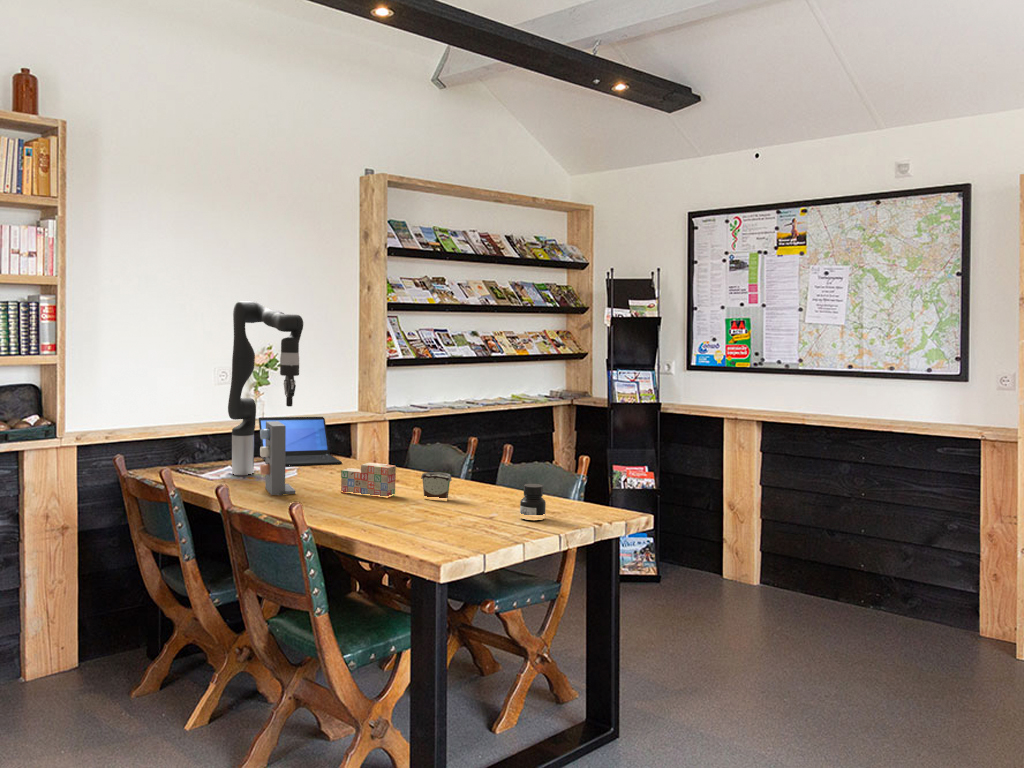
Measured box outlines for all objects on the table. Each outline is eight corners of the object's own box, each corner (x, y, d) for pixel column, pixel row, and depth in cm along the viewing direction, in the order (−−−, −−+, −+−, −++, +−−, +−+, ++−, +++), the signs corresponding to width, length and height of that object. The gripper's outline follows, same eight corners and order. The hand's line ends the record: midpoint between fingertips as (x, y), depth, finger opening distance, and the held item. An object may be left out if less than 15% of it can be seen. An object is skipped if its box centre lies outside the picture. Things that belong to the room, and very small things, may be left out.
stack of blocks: (340, 493, 350) (340, 462, 349) (349, 490, 355) (349, 460, 355) (387, 498, 341) (387, 467, 341) (395, 496, 347) (396, 464, 346)
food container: (456, 499, 343) (456, 473, 343) (450, 502, 337) (450, 476, 337) (427, 496, 347) (427, 471, 347) (420, 499, 342) (421, 473, 341)
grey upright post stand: (265, 488, 355) (265, 421, 353) (288, 487, 359) (288, 420, 357) (271, 495, 341) (272, 426, 339) (295, 494, 344) (296, 425, 343)
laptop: (270, 468, 404) (271, 426, 403) (257, 456, 438) (257, 417, 437) (342, 465, 418) (343, 424, 417) (324, 453, 452) (324, 415, 451)
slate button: (260, 438, 347) (260, 428, 347) (270, 438, 349) (270, 428, 349) (261, 439, 344) (261, 429, 343) (272, 439, 345) (272, 429, 345)
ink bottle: (514, 517, 313) (515, 484, 312) (534, 515, 318) (535, 482, 317) (530, 523, 305) (531, 488, 304) (550, 520, 310) (551, 486, 309)
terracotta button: (260, 473, 348) (260, 463, 348) (270, 473, 350) (270, 463, 349) (261, 475, 344) (261, 465, 344) (272, 475, 346) (272, 465, 346)
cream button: (260, 456, 348) (260, 446, 347) (270, 455, 349) (270, 445, 349) (261, 457, 344) (261, 447, 344) (272, 457, 346) (272, 447, 345)
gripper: (277, 362, 363) (277, 404, 364) (283, 364, 351) (283, 408, 352) (295, 362, 366) (295, 404, 368) (302, 364, 354) (302, 407, 356)
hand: (289, 406), depth 360 cm, fingers closed
